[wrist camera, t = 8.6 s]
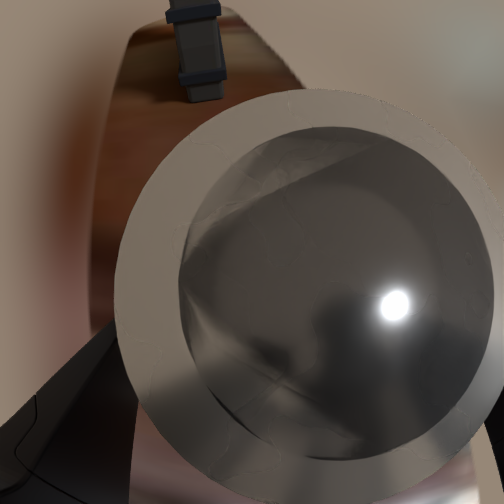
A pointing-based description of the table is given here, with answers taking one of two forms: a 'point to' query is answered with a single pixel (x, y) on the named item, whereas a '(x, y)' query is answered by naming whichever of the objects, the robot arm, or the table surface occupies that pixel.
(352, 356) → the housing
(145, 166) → the table surface
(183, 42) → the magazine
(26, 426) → the robot arm
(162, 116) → the table surface
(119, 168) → the table surface
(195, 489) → the table surface
